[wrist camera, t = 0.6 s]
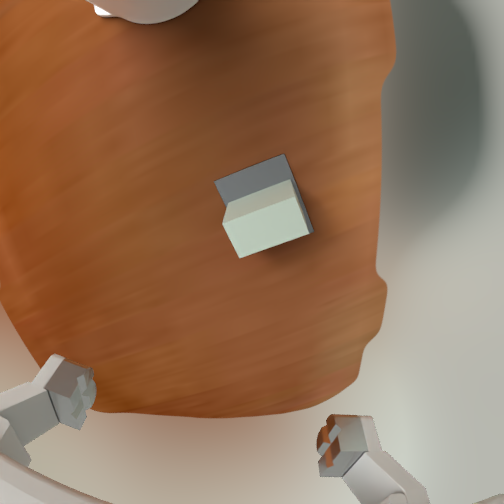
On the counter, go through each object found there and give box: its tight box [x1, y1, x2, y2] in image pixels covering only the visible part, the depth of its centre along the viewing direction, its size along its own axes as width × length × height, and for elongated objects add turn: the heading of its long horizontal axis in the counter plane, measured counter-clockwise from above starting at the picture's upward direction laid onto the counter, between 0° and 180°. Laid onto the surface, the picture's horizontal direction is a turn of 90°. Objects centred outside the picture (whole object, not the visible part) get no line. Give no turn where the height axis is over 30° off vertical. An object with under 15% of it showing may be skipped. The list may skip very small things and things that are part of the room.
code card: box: [214, 154, 314, 233], centre depth 44 cm, size 12×10×1 cm
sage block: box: [222, 179, 309, 258], centre depth 41 cm, size 5×9×7 cm, turn 113°
